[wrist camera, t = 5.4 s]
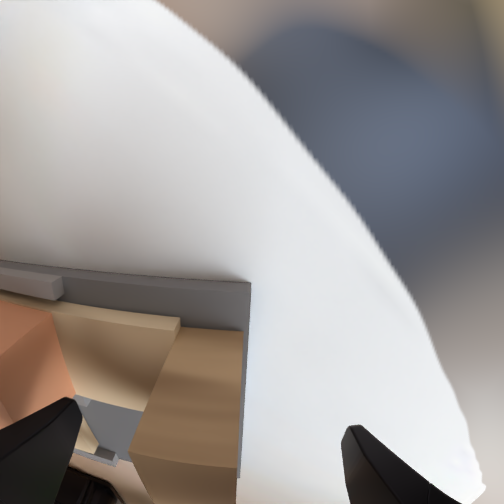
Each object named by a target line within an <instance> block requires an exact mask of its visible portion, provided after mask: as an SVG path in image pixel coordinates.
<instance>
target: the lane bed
mask: <svg viewBox="0 0 504 504" xmlns="http://www.w3.org/2000/svg"><path fill="white" fill-rule="evenodd" d="M0 289H3V290H7V291H11V292H15V293H20V294H24V295H29V296H34V297H39V298H43V299H49V300H54V301H55V300H57V301H63V302H68V303H74V304H80V305H86V306H92V307H99V308H105V309H112V310H119V311H127V312H135V313H143V314H151V315H160V316H170V317H180V324H181V327H189V328H201V329H213V330H228V331H244V335H243V355H242V376H241V397H240V418H239V440H238V463H237V478H240V467H241V451H242V435H243V418H244V402H245V385H246V369H247V352H248V335H249V319H250V302H251V283H243V282H225V281H209V280H194V279H180V278H166V277H153V276H141V275H129V274H118V273H107V272H97V271H87V270H77V269H68V268H59V267H50V266H42V265H33V264H25V263H17V262H10V261H2V260H0ZM72 399H75V400H76V402H77V404H78V406H79V408H80V411H81V413H82V415H83V417H84V419H85V421H86V422H87V424H88V426H89V428H90V429H91V431H92V433H93V435H94V436H95V438H96V440H97V441H98V443H99V445H98V447H97V449H96V451H95V453H94V454H91V453H88V452H85V451H82V450H79V449H76V448H74V451H73V452H74V453H76V454H79V455H81V456H84V457H87V458H89V459H92V460H95V461H98V462H101V463H104V464H107V465H110V466H114V467H116V465H117V463H118V460H119V459H122V460H125V461H129V462H132V460H131V458H130V456H129V453H128V449H129V447H130V444H131V441H132V439H133V436H134V434H135V432H136V429H137V427H138V424H139V422H140V419H141V417H142V414H143V411H138V410H133V409H128V408H124V407H120V406H116V405H112V404H108V403H104V402H100V401H97V400H93V399H90V398H86V397H83V396H80V395H76V394H75V395H74V397H73V398H72Z"/></svg>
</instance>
